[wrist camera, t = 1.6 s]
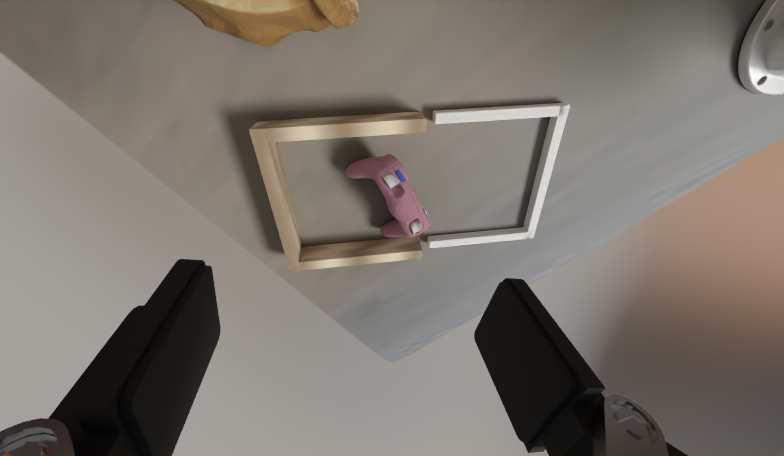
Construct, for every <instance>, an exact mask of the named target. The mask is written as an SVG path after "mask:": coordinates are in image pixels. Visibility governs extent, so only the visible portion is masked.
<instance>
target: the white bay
mask: <svg viewBox="0 0 784 456" xmlns="http://www.w3.org/2000/svg"><path fill="white" fill-rule="evenodd" d="M569 108H570V105H568V104H565V103H552V104H535V105H519V106H502V107H485V108H469V109H452V110H436V111H433V122H434V123H435V124H446V123H461V122H477V121H493V120H508V119H524V118H540V117H550V120H549V125H548V129H547V133H546V137H545V141H544V145H543V149H542V153H541V157H540V161H539V165H538V169H537V173H536V177H535V181H534V185H533V189H532V193H531V197H530V201H529V205H528V209H527V213H526V217H525V221H524V225H523V227H520V228H509V229H499V230H488V231H478V232H467V233H456V234H446V235H435V236H428V245H429V248H437V247H448V246H458V245H468V244H478V243H488V242H499V241H509V240H519V239H529V238H534V234H535V230H536V227H537V223H538V220H539V216H540V212H541V209H542V205H543V202H544V198H545V194H546V191H547V187H548V184H549V180H550V176H551V173H552V169H553V166H554V162H555V158H556V155H557V151H558V148H559V144H560V141H561V137H562V133H563V130H564V126H565V123H566V119H567V115H568V112H569Z"/></svg>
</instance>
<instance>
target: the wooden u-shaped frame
mask: <svg viewBox="0 0 784 456" xmlns="http://www.w3.org/2000/svg"><path fill="white" fill-rule="evenodd" d="M249 132H250V136H251V139H252V143H253V146H254V149H255V153H256V156H257V160H258V163H259V167H260V170H261V174H262V177H263V180H264V184H265V187H266V191H267V194H268V198H269V201H270V205H271V208H272V211H273V215H274V218H275V222H276V225H277V229H278V232H279V236H280V239H281V242H282V246H283V249H284V253H285V256H286V260H287V263H288V266H289V270H290V272H291V271H301V270H311V269H321V268H331V267H341V266H351V265H361V264H371V263H381V262H391V261H401V260H411V259H421V258H422V247H421V244H420V241H419V238H418V236H414V237H400V238H390V239H379V240H368V241H358V242H347V243H336V244H326V245H315V246H305V247H302V244H301V240H300V236H299V232H298V228H297V224H296V220H295V216H294V212H293V208H292V204H291V200H290V196H289V191H288V187H287V183H286V179H285V175H284V171H283V167H282V163H281V159H280V155H279V151H278V147H277V143H276V142H285V141H300V140H315V139H331V138H346V137H361V136H376V135H391V134H406V133H422V132H426V118H425V117H424V115H423V114H422V113H421V112H420V111H419V112H402V113H386V114H369V115H352V116H336V117H319V118H303V119H286V120H269V121H258V122H256V123H255V124H254V125H253V126H252V127H251V128H250V129H249Z"/></svg>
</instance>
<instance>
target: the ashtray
mask: <svg viewBox="0 0 784 456" xmlns="http://www.w3.org/2000/svg"><path fill="white" fill-rule="evenodd" d="M175 1H177V2H178V3H179V4H181V5H182V6H184V7H185V8H187V9H188V10H189V11H191V12H192V13H194V14H195V15H196V16H197V17H198V18H199V19H200V20H201V21H202V22H203V24H204V25H205V26H207V27H209V28H212V29H215V30H218V31H221V32H225V33H228V34H231V35H233V36H236V37H238V38H241V39H244V40H247V41H250V42H254V43H257V44H261V45H266V46H269V45H274V44H276V43H278V42H279V41H280V40H281V39H282V38H285V37H286V36H288V35H289V34H291V33H294V32H296V31H299V30H309V31H314V32H318V31H321V30H324V29H326V28H327V27H329V26H330V25H331V24H332V25H333V26H334V27H336V28H337V29H338V28H342V27H345V26H348V25H350V24H351V23H352V22H354V21H355V20H356V18H357V17H358V13H359V6H358V3H357V0H175Z"/></svg>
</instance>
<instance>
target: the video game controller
mask: <svg viewBox="0 0 784 456" xmlns="http://www.w3.org/2000/svg"><path fill="white" fill-rule="evenodd" d="M345 175H346V176H347V177H349V178H353V179H356V178H370V179H373V180H375V182H376V183H377V185H378V187H379V188H380V190H381V192H382V193H383V195H384V197H385V198H386V202H387V206H388V209H389V211H390V213H391V214H392V215H393V216H394V217H395V218H396V219H397V220H393V221H391V222H388V223H386V224H385V225H383V226H382V228H381V233H382V234H383V235H384V236H386V237H414V236H417V235H419V234H421V233H423V232H424V231H425V230H427V229H428V228H429V227H430V222H429V219H428V218H427V212H426V210H425V209H423V208H422V207H421V204H420V202H419V200H418V198H417V196H416V194H415V192H414V191H413V189H412V187H411V186H410V184H409V182H408V175H407V172H406V170H405V169H404V167H403V166H402V164H401V163H400V162H399V161H398V160H397V159H396V158H395V157H394V156H392V155H390V154H387V155H385V156H384V157H371V158H365V159H361V160H358V161H356V162H354V163H352V164H350V165H349V166H348V167H347V168H346V170H345Z"/></svg>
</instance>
